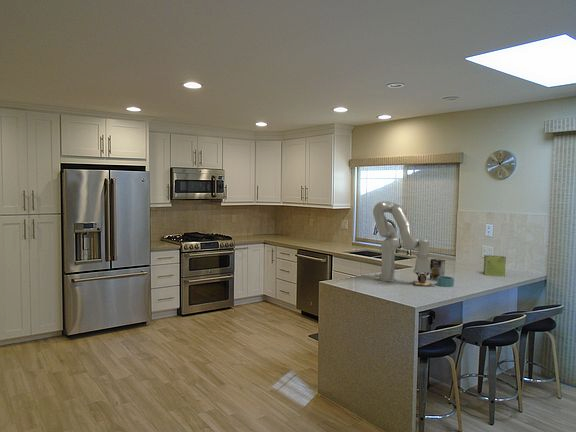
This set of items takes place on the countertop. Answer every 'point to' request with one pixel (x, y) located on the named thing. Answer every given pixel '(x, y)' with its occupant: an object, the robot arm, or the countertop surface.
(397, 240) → the robot arm
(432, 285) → the mat
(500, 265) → the protein box
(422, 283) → the lid
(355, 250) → the countertop surface
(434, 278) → the coffee box
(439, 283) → the bowl
